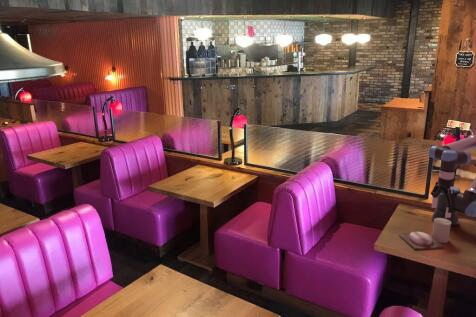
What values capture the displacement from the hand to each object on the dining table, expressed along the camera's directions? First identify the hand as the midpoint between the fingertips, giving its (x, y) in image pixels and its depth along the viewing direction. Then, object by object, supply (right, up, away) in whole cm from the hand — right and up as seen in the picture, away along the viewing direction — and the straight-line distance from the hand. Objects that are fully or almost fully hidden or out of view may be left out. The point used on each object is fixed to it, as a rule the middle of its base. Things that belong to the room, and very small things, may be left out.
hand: (440, 212), depth 229 cm
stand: (-11, -17, +1) cm, 21 cm away
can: (+2, -17, +5) cm, 17 cm away
